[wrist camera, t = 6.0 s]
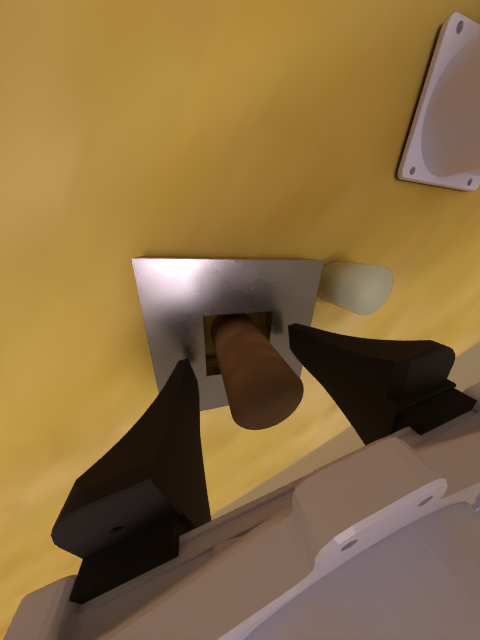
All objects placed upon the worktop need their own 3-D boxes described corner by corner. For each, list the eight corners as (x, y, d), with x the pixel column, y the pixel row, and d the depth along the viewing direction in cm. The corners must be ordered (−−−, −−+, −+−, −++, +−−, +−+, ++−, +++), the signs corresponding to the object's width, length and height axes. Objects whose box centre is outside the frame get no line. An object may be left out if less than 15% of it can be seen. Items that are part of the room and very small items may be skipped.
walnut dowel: (248, 304, 15) (303, 359, 8) (253, 340, 16) (303, 414, 9) (206, 315, 14) (223, 386, 7) (215, 351, 16) (238, 439, 8)
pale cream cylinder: (352, 261, 16) (400, 265, 12) (342, 299, 17) (382, 313, 14) (319, 261, 15) (359, 265, 11) (311, 301, 16) (345, 316, 13)
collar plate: (302, 258, 14) (323, 260, 12) (284, 374, 19) (297, 391, 17) (142, 256, 11) (131, 258, 9) (167, 394, 16) (164, 418, 14)
